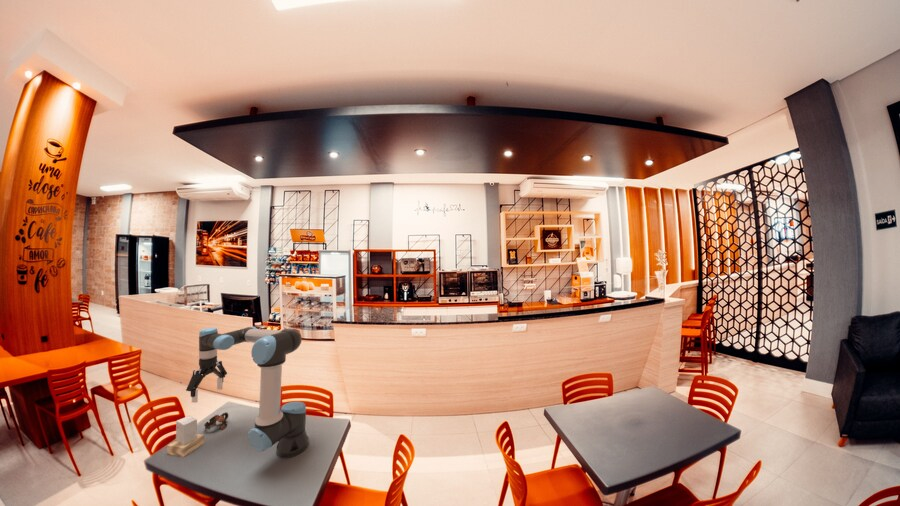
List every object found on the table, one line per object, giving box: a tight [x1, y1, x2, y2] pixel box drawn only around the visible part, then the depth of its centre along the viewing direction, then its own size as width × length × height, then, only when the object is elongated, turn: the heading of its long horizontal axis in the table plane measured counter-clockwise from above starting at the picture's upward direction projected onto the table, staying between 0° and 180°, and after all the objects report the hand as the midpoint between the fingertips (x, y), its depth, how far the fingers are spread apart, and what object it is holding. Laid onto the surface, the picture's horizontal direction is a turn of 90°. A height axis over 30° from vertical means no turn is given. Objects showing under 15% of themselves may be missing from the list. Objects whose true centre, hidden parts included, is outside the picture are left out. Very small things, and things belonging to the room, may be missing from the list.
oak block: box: [166, 433, 205, 458], centre depth 145 cm, size 10×10×5 cm
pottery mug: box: [203, 412, 229, 431], centre depth 162 cm, size 12×10×8 cm
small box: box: [175, 415, 198, 445], centre depth 145 cm, size 8×6×10 cm
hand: (207, 395), depth 151 cm, fingers open, 13 cm apart
